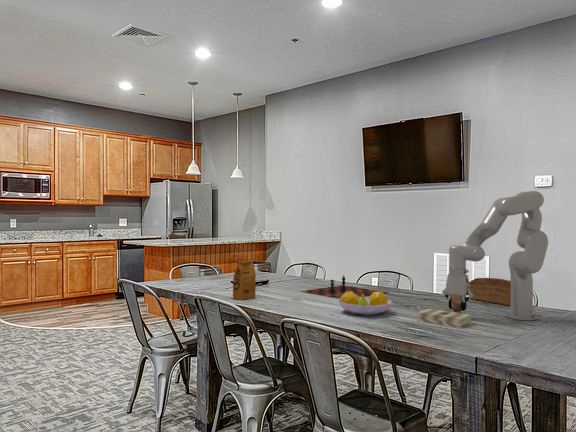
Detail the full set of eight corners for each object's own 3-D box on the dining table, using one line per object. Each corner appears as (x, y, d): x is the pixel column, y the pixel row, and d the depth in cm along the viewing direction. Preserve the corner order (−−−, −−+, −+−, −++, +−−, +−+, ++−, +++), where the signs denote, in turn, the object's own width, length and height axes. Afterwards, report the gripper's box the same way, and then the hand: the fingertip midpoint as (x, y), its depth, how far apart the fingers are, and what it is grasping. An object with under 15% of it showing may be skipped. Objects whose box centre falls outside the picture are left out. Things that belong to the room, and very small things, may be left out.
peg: (465, 317, 223) (465, 294, 223) (460, 319, 219) (460, 295, 219) (454, 316, 227) (454, 293, 227) (449, 317, 223) (449, 294, 223)
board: (471, 323, 210) (471, 314, 210) (459, 328, 202) (459, 318, 202) (429, 317, 224) (429, 308, 224) (417, 320, 216) (417, 312, 216)
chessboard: (342, 286, 327) (342, 270, 327) (388, 293, 296) (388, 276, 296) (299, 292, 301) (299, 275, 301) (345, 301, 270) (345, 282, 270)
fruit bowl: (350, 305, 253) (350, 284, 253) (399, 311, 239) (399, 288, 239) (327, 314, 229) (327, 291, 229) (380, 321, 215) (380, 296, 215)
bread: (515, 307, 249) (515, 282, 249) (464, 299, 275) (464, 276, 275) (527, 305, 256) (527, 280, 256) (477, 297, 282) (477, 275, 282)
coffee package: (230, 298, 274) (230, 260, 274) (248, 296, 282) (248, 259, 282) (239, 300, 267) (240, 261, 267) (257, 298, 274) (257, 260, 275)
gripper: (478, 272, 220) (478, 311, 220) (443, 269, 232) (443, 306, 232) (472, 273, 215) (471, 313, 214) (436, 270, 226) (436, 308, 226)
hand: (457, 309), depth 223 cm, fingers closed on peg, 5 cm apart
